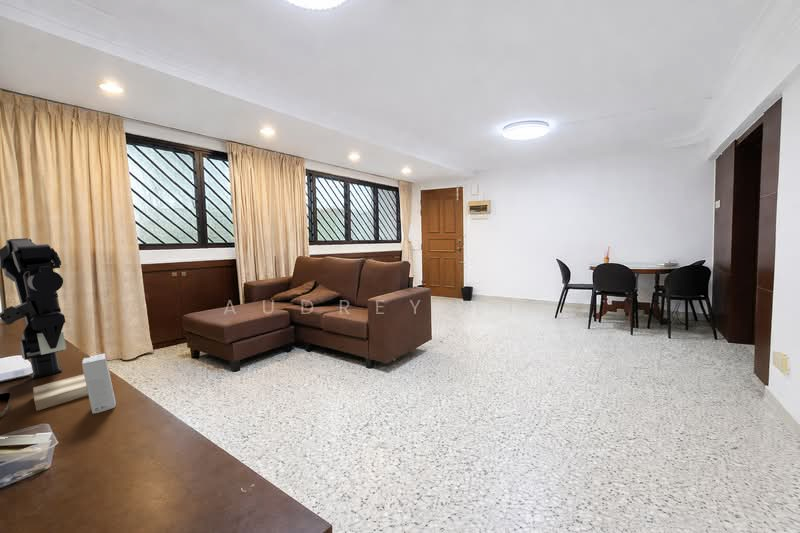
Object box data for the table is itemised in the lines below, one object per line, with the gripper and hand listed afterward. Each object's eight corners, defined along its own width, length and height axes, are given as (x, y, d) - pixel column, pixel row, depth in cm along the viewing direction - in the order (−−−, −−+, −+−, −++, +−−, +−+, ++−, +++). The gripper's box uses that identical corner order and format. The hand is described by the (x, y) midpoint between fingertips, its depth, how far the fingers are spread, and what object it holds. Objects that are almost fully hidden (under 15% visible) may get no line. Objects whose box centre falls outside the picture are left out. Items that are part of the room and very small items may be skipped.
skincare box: (116, 407, 84) (107, 358, 82) (90, 415, 81) (81, 364, 79) (115, 398, 88) (107, 352, 87) (91, 405, 86) (82, 357, 84)
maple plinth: (35, 396, 93) (33, 387, 93) (90, 381, 101) (88, 372, 101) (36, 410, 85) (34, 401, 85) (96, 392, 93) (94, 383, 93)
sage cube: (40, 351, 99) (36, 333, 98) (65, 345, 102) (61, 328, 102) (41, 354, 95) (37, 336, 95) (66, 349, 99) (63, 331, 98)
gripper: (-2, 294, 97) (10, 349, 99) (-5, 300, 85) (9, 363, 86) (55, 286, 105) (64, 337, 107) (59, 291, 93) (70, 349, 94)
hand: (52, 346), depth 99 cm, fingers closed on sage cube, 5 cm apart
